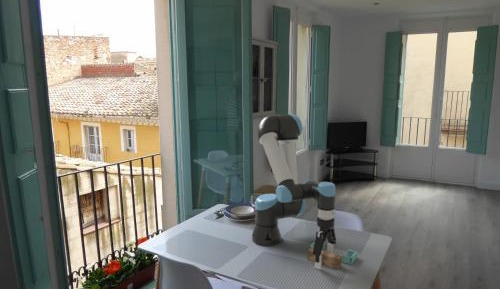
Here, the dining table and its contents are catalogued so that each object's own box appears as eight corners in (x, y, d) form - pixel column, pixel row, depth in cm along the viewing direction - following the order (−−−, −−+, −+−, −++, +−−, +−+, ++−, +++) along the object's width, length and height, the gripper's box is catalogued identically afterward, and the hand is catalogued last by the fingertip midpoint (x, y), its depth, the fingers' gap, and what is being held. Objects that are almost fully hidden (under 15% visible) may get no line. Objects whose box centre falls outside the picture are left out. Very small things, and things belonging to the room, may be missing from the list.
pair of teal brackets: (309, 251, 170) (309, 245, 170) (316, 246, 176) (316, 240, 176) (351, 264, 158) (351, 258, 158) (357, 257, 164) (357, 251, 164)
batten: (307, 260, 163) (307, 249, 162) (310, 257, 166) (311, 247, 165) (338, 270, 154) (338, 259, 153) (341, 266, 157) (341, 256, 156)
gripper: (321, 228, 144) (320, 276, 148) (344, 211, 164) (342, 254, 167) (305, 223, 149) (304, 271, 152) (329, 207, 168) (327, 250, 172)
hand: (324, 262), depth 160 cm, fingers open, 12 cm apart
